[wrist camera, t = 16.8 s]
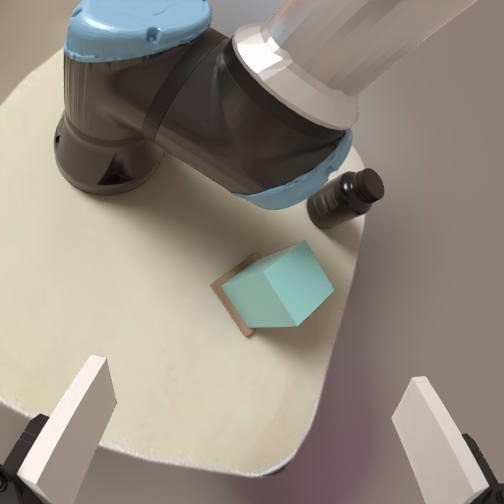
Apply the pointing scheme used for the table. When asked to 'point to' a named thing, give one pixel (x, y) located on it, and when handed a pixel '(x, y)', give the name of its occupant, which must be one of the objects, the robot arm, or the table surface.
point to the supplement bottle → (345, 198)
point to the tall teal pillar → (279, 288)
